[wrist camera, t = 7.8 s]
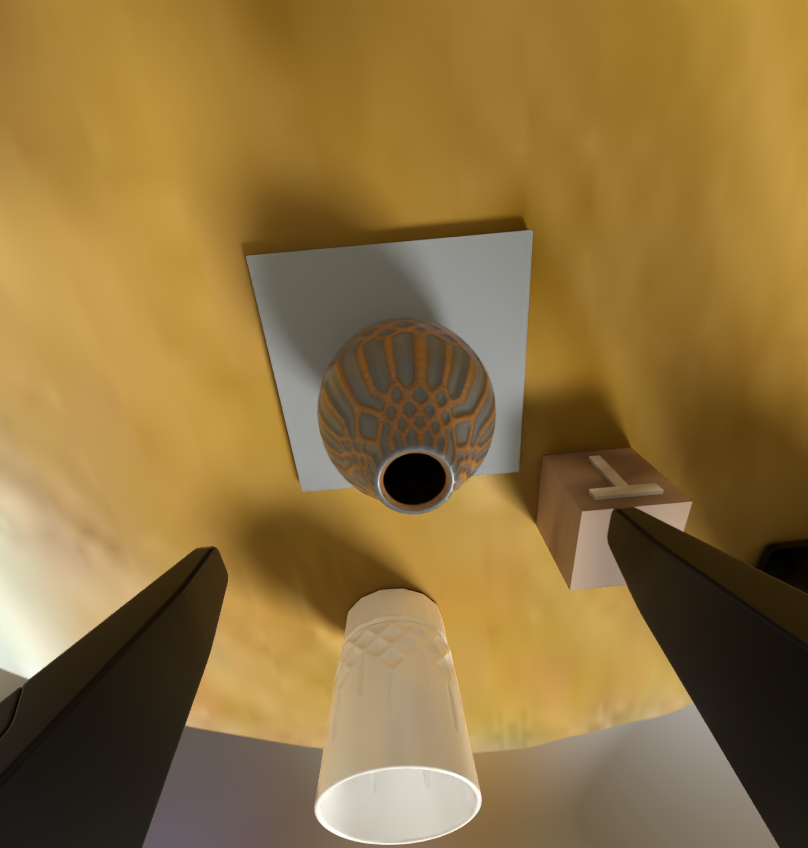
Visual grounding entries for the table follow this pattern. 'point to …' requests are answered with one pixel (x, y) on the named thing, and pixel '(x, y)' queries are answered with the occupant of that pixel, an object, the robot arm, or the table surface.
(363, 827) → the white cup
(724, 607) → the robot arm
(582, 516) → the letter cube
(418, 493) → the vase
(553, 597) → the table surface
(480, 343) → the grey mat
